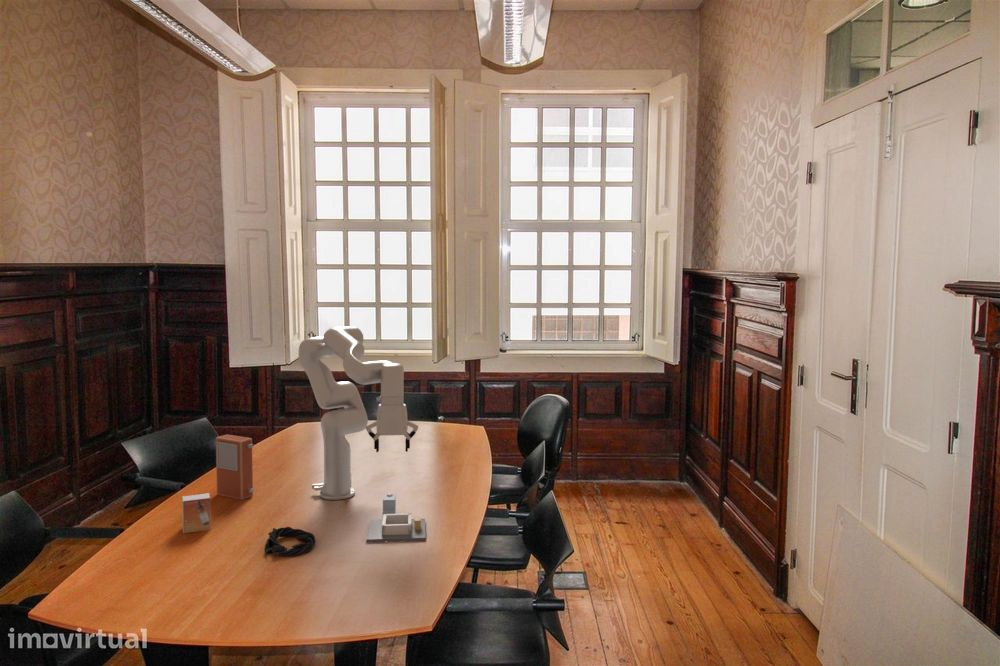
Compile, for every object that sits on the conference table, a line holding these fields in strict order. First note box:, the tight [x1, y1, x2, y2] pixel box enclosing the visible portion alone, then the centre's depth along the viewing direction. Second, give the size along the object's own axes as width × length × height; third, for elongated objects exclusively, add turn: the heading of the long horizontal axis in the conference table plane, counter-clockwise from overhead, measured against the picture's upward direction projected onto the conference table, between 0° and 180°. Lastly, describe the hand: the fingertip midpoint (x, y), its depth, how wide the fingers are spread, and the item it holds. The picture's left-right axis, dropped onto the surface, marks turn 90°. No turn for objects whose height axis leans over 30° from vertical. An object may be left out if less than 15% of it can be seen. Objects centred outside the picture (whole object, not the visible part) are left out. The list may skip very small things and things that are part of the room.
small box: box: [181, 492, 212, 534], centre depth 208 cm, size 8×6×10 cm
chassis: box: [365, 512, 427, 543], centre depth 209 cm, size 18×16×4 cm
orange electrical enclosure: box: [215, 434, 255, 500], centre depth 240 cm, size 21×7×15 cm
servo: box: [382, 493, 397, 516], centre depth 221 cm, size 4×10×7 cm, turn 7°
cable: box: [264, 526, 316, 558], centre depth 197 cm, size 17×14×4 cm
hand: (392, 450), depth 221 cm, fingers open, 9 cm apart
